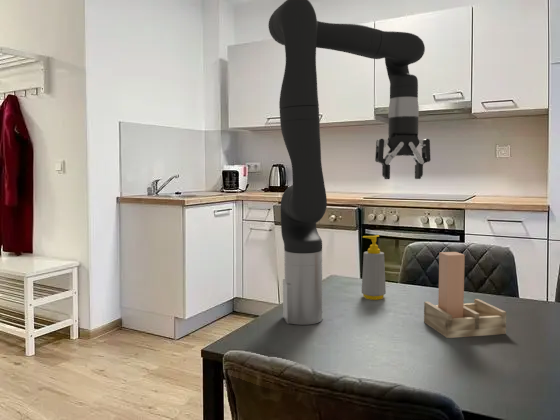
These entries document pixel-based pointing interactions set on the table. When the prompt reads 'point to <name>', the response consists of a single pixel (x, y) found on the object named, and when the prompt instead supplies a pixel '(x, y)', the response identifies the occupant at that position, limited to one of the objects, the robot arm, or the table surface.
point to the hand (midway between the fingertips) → (402, 179)
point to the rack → (467, 320)
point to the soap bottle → (373, 272)
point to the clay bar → (451, 283)
